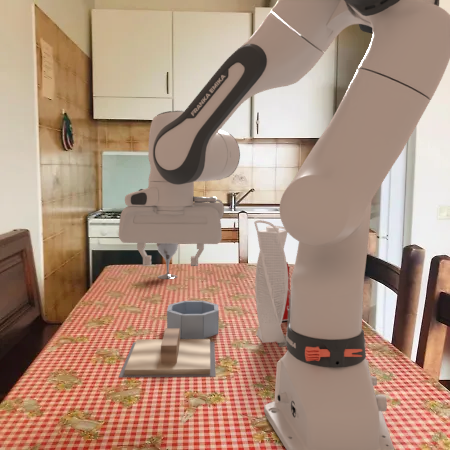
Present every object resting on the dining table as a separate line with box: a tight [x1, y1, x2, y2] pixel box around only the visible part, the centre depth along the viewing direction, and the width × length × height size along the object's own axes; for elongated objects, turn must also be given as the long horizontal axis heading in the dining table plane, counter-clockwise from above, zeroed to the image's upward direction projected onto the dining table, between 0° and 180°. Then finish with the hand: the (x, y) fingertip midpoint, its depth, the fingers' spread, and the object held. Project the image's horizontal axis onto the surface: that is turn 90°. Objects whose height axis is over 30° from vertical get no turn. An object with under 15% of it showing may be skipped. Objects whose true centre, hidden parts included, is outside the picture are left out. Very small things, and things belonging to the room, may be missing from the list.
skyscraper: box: [254, 219, 291, 348], centre depth 109 cm, size 8×8×28 cm
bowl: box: [166, 300, 220, 339], centre depth 115 cm, size 12×12×6 cm
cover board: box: [125, 327, 211, 375], centre depth 98 cm, size 16×16×4 cm
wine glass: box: [156, 243, 179, 280], centre depth 173 cm, size 8×8×15 cm
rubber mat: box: [118, 341, 217, 378], centre depth 99 cm, size 18×18×1 cm
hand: (170, 265), depth 97 cm, fingers open, 8 cm apart
